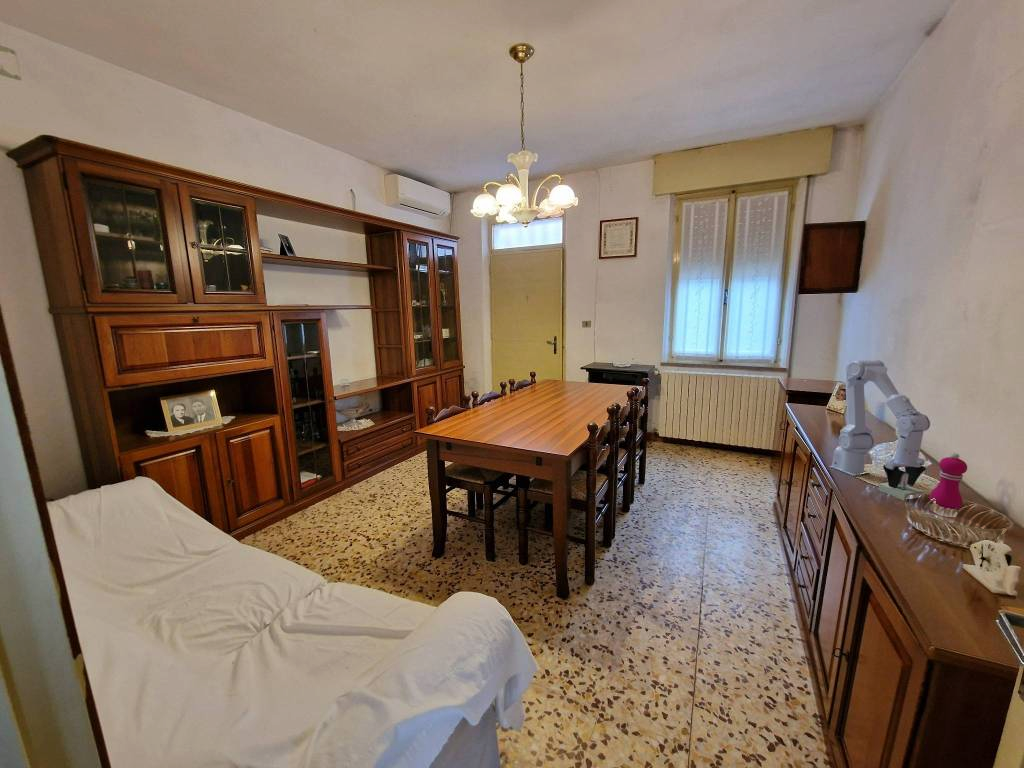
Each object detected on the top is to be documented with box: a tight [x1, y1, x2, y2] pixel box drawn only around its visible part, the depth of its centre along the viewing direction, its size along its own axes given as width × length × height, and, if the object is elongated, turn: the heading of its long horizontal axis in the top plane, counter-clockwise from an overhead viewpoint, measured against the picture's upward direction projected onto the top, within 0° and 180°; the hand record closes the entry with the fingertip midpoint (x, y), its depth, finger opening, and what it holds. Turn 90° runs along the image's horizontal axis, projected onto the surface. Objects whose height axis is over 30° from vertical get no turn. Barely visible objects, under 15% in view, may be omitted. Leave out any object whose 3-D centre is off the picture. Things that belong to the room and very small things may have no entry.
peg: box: [897, 470, 909, 491], centre depth 143 cm, size 3×3×8 cm
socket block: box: [877, 482, 924, 502], centre depth 144 cm, size 8×8×2 cm
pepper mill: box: [929, 452, 968, 509], centre depth 129 cm, size 7×7×20 cm
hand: (901, 485), depth 143 cm, fingers open, 7 cm apart
